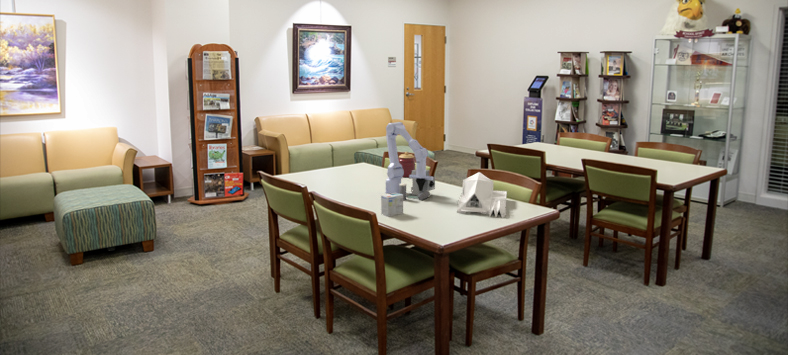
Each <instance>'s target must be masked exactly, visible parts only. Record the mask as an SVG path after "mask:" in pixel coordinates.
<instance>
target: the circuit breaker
mask: <svg viewBox="0 0 788 355" xmlns="http://www.w3.org/2000/svg"><path fill="white" fill-rule="evenodd" d="M411 175H416V169H415V170H412V173H411ZM426 176H430V170H429V169H428V170H427V169H426ZM410 188H411V189H410V192H411V195H412V196H418V194H420V193H422V192H425V191H429V192H430V191H433V190H435V189H436V177H435V176H433V180H427V179H426V181H425V183H424V186H423V190H422V191H419V187H418V184H417V182H416V179H415V178H412V186H411V187H410Z"/></svg>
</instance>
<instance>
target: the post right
mask: <svg viewBox="0 0 788 355" xmlns="http://www.w3.org/2000/svg"><path fill="white" fill-rule="evenodd" d="M416 196H417V198H418V199H417V198H416V199H417V200H418V201H423V200H425V199H427V198H429V197H431V192H430V191H425V192H422V193H420V194H418V195H416Z"/></svg>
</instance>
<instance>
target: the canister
mask: <svg viewBox="0 0 788 355" xmlns="http://www.w3.org/2000/svg"><path fill="white" fill-rule="evenodd" d="M398 160H399V163H400V164H401V165H402V168H403V170H404V175H403V176H402V178H409V175H411V173H412V170H416V158H415V155H414V154H410V153H409V151H405V152H404V153H402V154H400V155H399V156H398Z"/></svg>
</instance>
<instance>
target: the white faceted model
mask: <svg viewBox="0 0 788 355" xmlns="http://www.w3.org/2000/svg"><path fill="white" fill-rule="evenodd" d="M507 194H508V193H507V190H494V180H492V179H490V178H489V177H487V176H486V175H484V174H483V173H482V172H480V171H478V172H477V173H475V174H473V175H471V176H469V177H466V178H465V179H464V178H463V179H462V191H461V194H460V197H458V198H459V199H458V203H457V208H456V214H457V213H458V214H459V213H461V214H466V213H471V212H472V213H473V212H477V213H480V214H482V215H488V217H489V218H490V217H491V215H492V214H493V213H494V216H495V218H497V216H498V213H499V214H500V216H501V218H502V219H503V218H505V217H506V216H507V215H506V214H507ZM476 200H478V202H477V201H476ZM476 204H477V206H476ZM505 207H506V208H505ZM505 212H506V213H505ZM505 215H506V216H505Z"/></svg>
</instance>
